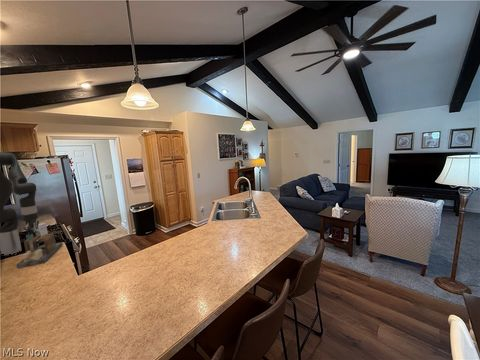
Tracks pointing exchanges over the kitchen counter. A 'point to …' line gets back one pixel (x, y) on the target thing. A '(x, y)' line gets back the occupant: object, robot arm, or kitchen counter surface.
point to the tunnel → (47, 249)
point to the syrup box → (41, 230)
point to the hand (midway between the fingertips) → (34, 237)
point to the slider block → (32, 251)
